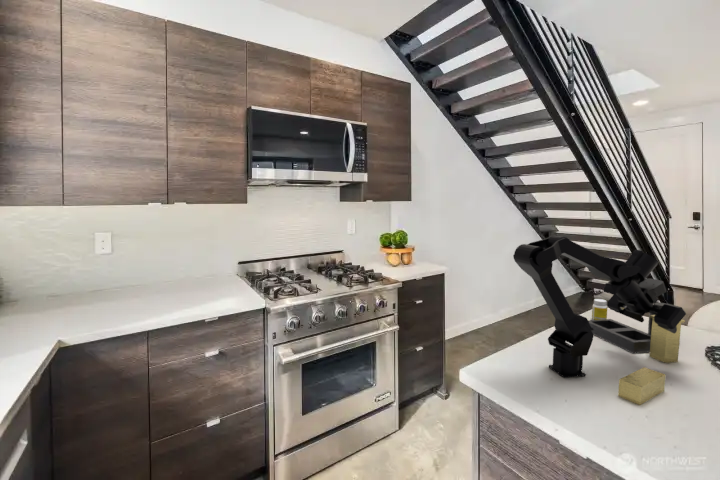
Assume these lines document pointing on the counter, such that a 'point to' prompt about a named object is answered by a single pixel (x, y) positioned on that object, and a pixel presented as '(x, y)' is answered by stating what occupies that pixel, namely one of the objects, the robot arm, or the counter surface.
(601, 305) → the supplement bottle
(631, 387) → the block
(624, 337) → the compartment tray
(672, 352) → the brass block
